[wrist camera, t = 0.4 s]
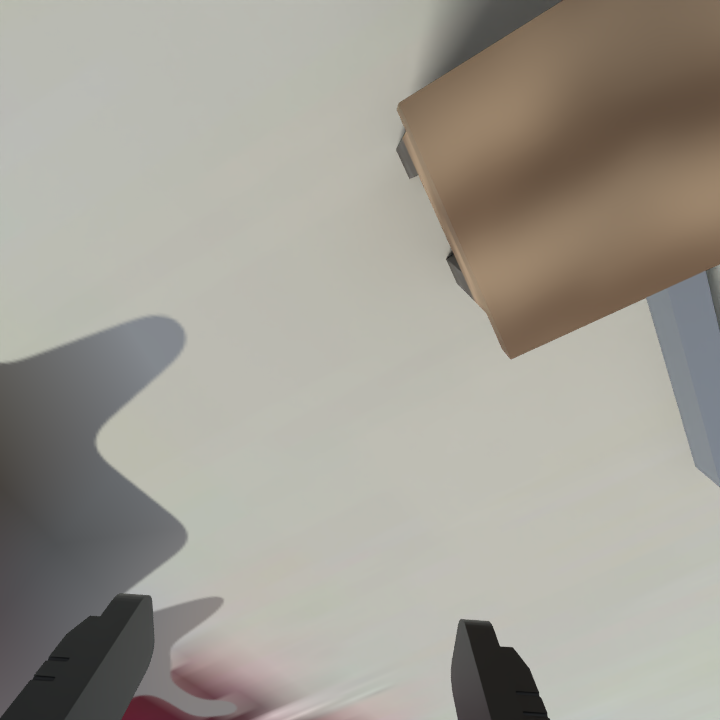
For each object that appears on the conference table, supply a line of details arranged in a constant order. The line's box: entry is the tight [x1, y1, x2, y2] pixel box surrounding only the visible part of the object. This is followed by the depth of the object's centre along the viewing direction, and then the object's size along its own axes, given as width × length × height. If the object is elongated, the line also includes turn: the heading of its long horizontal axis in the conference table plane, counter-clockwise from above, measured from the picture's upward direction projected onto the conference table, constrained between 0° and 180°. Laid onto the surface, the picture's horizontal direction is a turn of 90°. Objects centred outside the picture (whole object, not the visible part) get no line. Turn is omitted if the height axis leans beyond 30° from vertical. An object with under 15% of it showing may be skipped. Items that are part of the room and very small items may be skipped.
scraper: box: [647, 271, 720, 487], centre depth 30 cm, size 23×10×3 cm, turn 29°
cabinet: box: [396, 0, 720, 359], centre depth 19 cm, size 11×27×13 cm, turn 119°
